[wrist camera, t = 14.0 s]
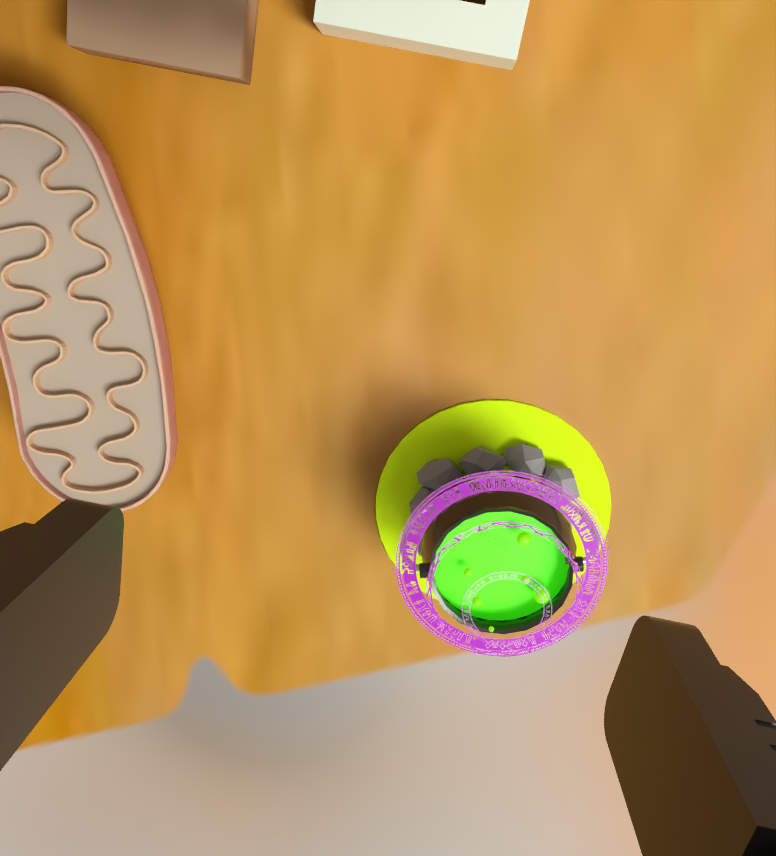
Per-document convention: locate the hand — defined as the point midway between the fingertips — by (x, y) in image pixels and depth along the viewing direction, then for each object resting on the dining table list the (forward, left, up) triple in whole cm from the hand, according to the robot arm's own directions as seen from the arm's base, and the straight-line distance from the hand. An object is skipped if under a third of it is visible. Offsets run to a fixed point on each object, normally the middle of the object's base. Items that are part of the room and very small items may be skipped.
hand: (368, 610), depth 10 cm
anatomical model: (-19, -3, -30) cm, 36 cm away
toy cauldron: (+7, -12, -30) cm, 33 cm away
